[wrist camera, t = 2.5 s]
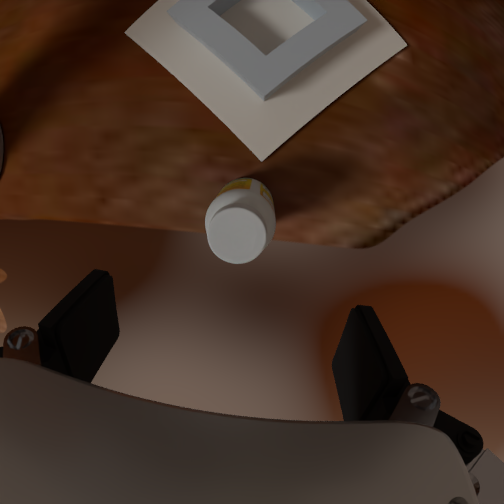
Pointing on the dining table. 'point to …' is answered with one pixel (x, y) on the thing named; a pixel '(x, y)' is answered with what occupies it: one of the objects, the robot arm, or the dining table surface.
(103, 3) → the dining table surface
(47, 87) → the dining table surface
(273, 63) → the socket holder
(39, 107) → the dining table surface
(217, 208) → the supplement bottle
